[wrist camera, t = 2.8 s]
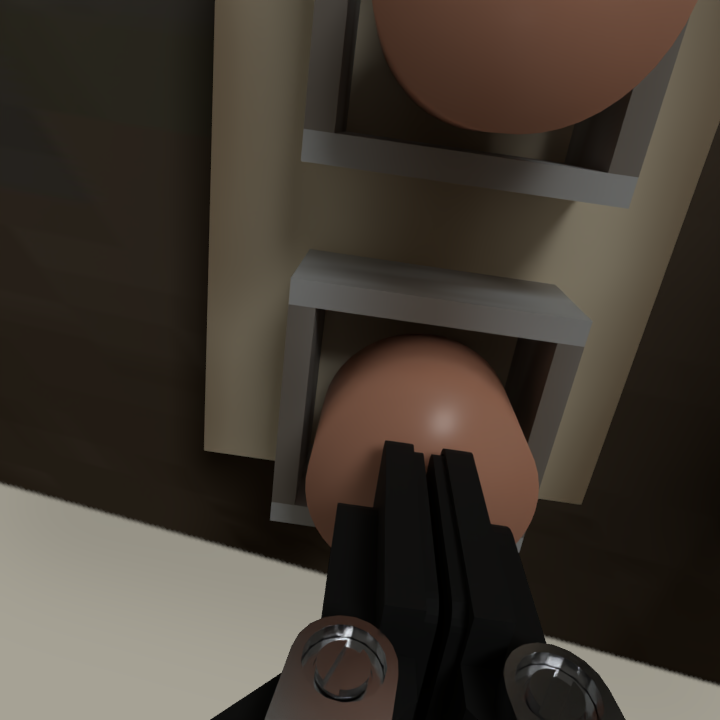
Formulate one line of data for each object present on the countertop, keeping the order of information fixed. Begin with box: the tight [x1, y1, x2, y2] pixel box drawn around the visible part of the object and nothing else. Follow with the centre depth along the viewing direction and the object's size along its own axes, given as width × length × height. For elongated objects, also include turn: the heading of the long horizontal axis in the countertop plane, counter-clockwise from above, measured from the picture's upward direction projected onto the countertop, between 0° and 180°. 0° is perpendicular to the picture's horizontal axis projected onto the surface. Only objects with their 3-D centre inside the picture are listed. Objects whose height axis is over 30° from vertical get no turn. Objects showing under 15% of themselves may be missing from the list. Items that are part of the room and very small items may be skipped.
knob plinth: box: [204, 0, 720, 552], centre depth 15 cm, size 12×16×7 cm
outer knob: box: [305, 333, 539, 547], centre depth 12 cm, size 5×5×3 cm
